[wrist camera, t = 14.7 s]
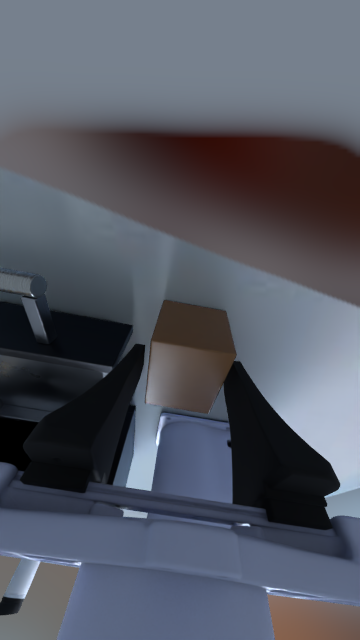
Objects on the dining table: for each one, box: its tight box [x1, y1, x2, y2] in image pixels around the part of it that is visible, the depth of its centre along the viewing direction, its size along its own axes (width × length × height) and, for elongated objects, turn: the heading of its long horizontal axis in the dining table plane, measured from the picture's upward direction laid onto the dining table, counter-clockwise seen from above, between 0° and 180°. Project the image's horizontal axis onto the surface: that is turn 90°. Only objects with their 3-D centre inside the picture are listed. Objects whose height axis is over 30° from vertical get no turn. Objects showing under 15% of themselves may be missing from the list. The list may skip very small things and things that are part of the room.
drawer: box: [0, 268, 133, 424], centre depth 15 cm, size 15×18×4 cm
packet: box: [145, 300, 237, 414], centre depth 13 cm, size 5×6×4 cm
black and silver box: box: [0, 405, 136, 509], centre depth 21 cm, size 16×14×10 cm
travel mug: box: [0, 559, 40, 615], centre depth 63 cm, size 6×7×20 cm
